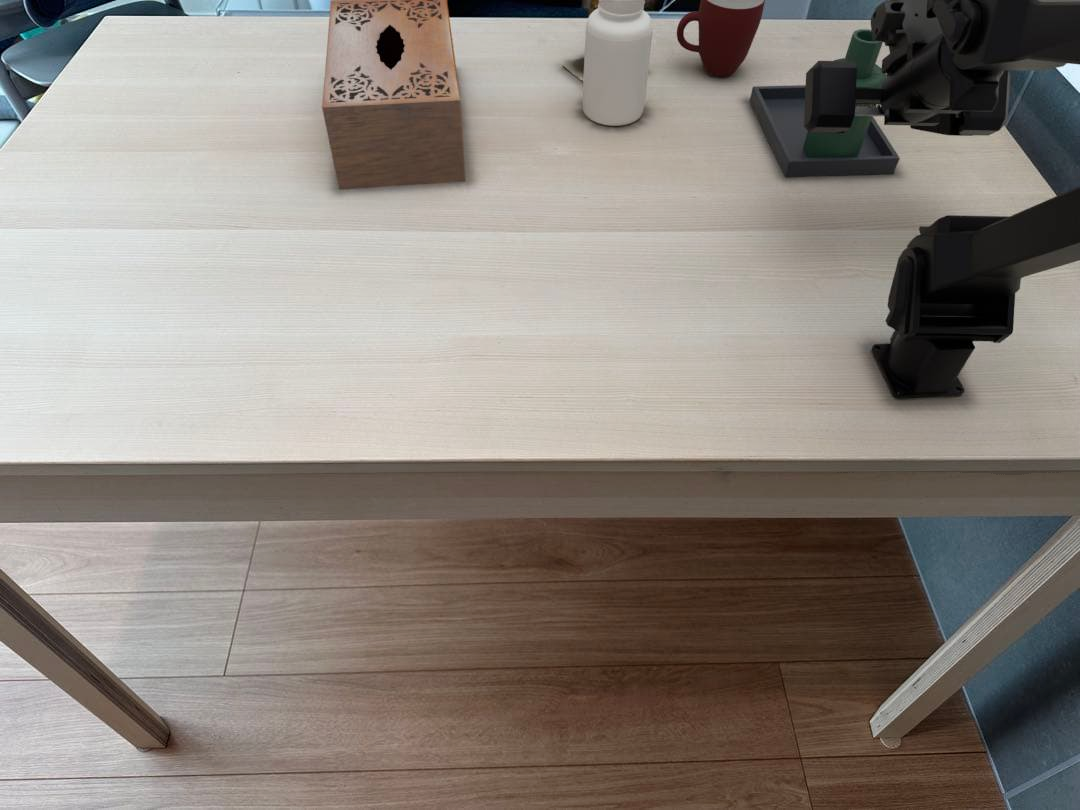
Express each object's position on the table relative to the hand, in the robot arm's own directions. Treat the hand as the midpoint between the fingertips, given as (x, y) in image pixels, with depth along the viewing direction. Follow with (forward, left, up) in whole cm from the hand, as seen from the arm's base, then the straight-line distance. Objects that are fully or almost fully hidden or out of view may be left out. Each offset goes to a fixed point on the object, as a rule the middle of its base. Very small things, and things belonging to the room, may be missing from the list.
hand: (869, 122), depth 85 cm
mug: (+29, +9, -9) cm, 32 cm away
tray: (+12, -1, -9) cm, 15 cm away
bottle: (+8, -1, -8) cm, 11 cm away
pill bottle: (+19, +24, -9) cm, 32 cm away
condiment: (+30, +24, -9) cm, 40 cm away
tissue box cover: (+17, +51, -9) cm, 55 cm away
